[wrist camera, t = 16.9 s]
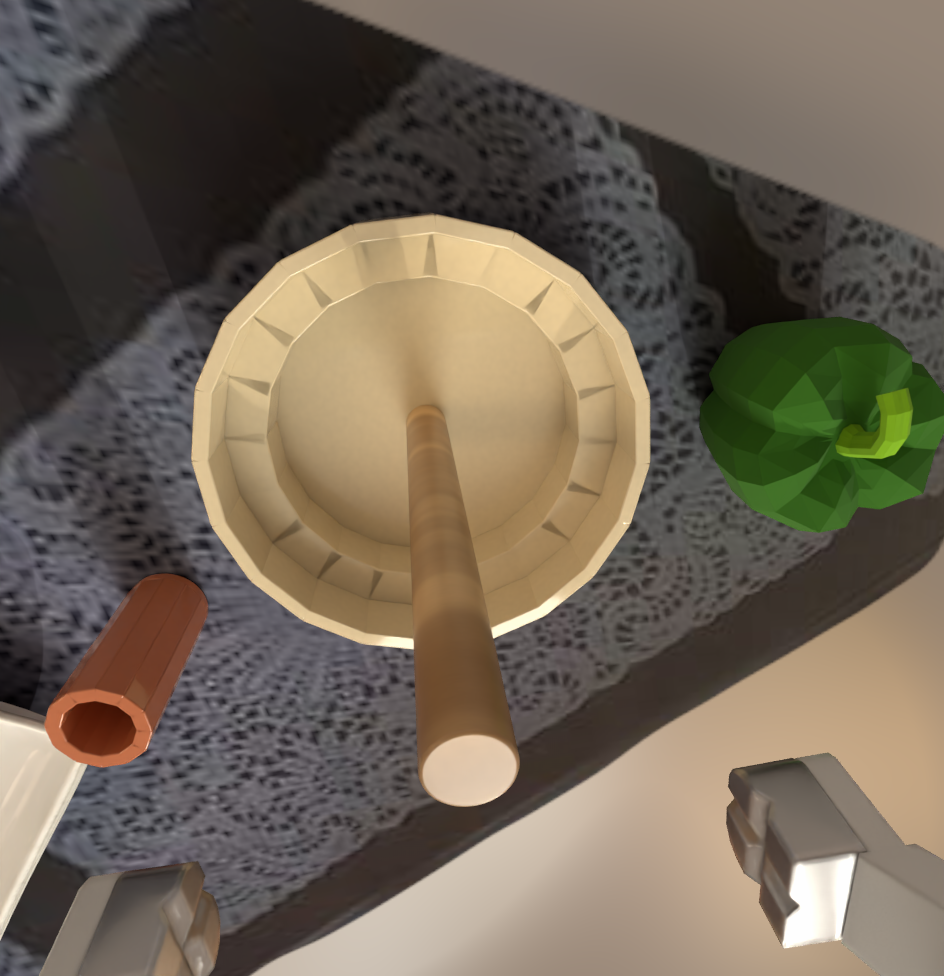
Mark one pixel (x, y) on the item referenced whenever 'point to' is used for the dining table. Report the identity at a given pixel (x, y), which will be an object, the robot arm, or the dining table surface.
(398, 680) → the dining table surface
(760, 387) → the bell pepper
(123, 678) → the stick holder
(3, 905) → the square plate
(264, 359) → the bowl
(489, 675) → the stirring stick
